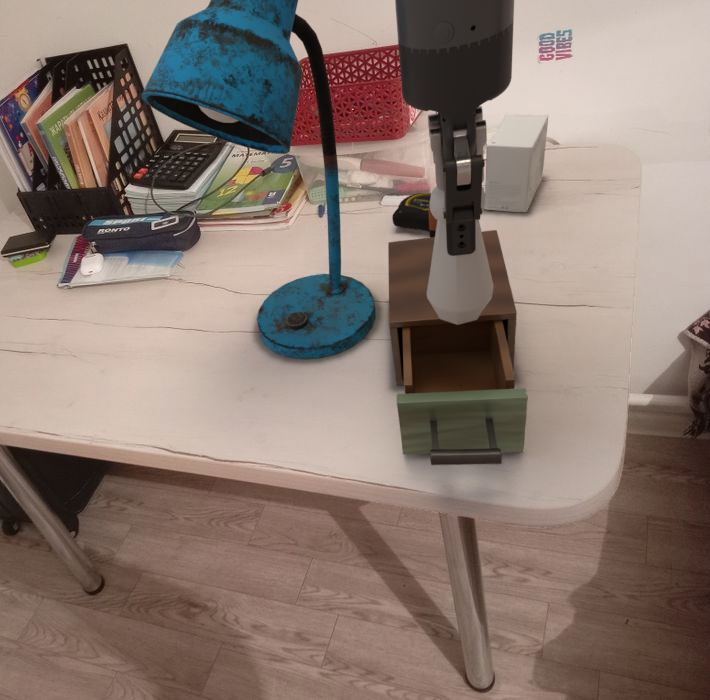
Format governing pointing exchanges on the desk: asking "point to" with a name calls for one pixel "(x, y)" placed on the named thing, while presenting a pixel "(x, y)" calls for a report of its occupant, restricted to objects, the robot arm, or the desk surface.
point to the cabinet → (411, 292)
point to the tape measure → (413, 212)
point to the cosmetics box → (515, 162)
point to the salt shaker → (457, 273)
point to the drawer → (460, 394)
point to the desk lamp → (266, 146)
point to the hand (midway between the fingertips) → (458, 235)
